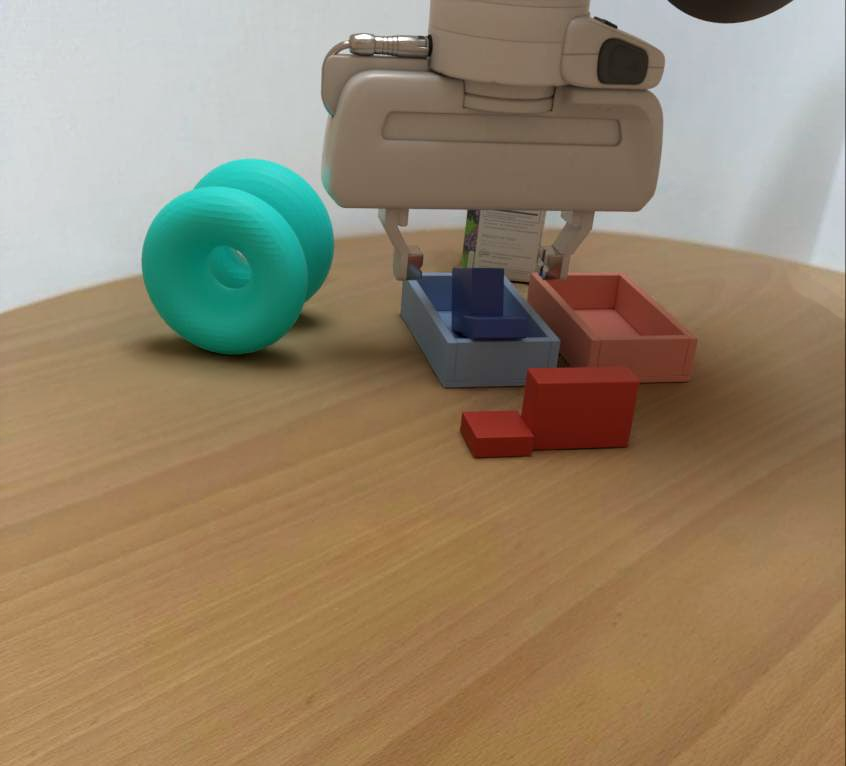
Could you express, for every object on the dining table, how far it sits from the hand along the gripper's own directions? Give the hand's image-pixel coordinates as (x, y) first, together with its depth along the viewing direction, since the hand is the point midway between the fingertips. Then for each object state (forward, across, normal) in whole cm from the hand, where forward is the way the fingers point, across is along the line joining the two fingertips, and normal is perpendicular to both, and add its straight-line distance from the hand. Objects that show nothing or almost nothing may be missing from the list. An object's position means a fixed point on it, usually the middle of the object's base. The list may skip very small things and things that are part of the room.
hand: (480, 277), depth 72 cm
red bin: (+5, +9, 0) cm, 10 cm away
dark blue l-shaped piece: (+3, 0, -2) cm, 4 cm away
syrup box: (+5, +6, +15) cm, 17 cm away
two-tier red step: (+5, 0, -13) cm, 14 cm away
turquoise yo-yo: (+5, -14, +3) cm, 16 cm away
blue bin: (+5, 0, 0) cm, 5 cm away
